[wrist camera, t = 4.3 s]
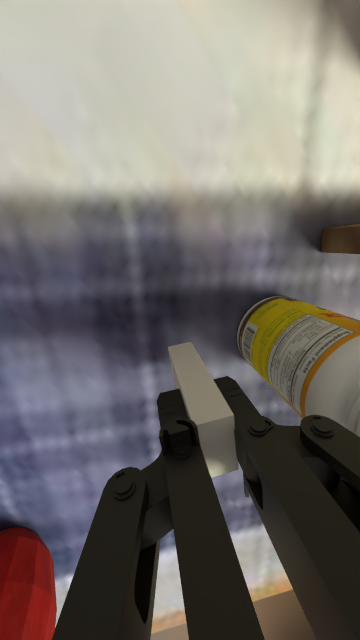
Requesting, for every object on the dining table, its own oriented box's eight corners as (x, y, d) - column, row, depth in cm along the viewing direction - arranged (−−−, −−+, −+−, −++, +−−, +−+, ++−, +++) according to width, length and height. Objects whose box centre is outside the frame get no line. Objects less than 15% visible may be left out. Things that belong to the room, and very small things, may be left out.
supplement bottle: (313, 332, 18) (520, 434, 8) (257, 376, 18) (393, 523, 9) (282, 277, 16) (506, 327, 6) (219, 327, 16) (342, 448, 7)
